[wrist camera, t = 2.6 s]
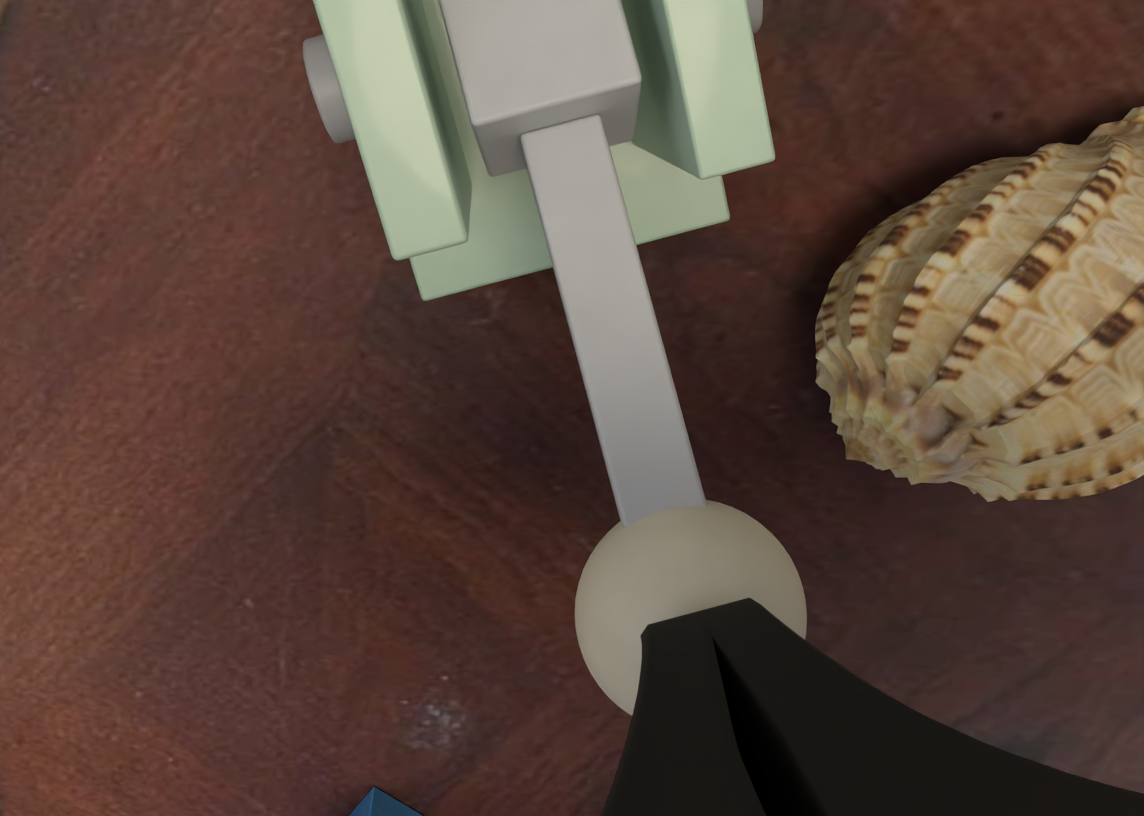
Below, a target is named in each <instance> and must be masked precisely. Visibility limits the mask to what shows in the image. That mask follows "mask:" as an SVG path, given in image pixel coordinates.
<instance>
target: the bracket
mask: <svg viewBox="0 0 1144 816" xmlns="http://www.w3.org/2000/svg"><path fill="white" fill-rule="evenodd" d="M313 2H314V6H315V9H316V12H317V15H318V18H319V22H320V25H321V28H322V31H323V35H320V36H316V37H312V38H308V39H306V40H305V41H304V42H303V58H304V63H305V68H306V72H307V76H308V80H309V84H310V87H311V91H312V94H313V97H314V100H315V103H316V106H317V108H318V111H319V114H320V116H321V119H322V121H323V124H324V126H325V128H326V130H327V132H328V134H329V135H330V137H331V138H332V140H333V141H334V142H335V143H343V142H347V141H351V140H355V139H356V142H357V145H358V148H359V151H360V154H361V158H362V161H363V164H364V167H365V171H366V174H367V177H368V180H369V184H370V187H371V190H372V193H373V197H374V200H375V203H376V206H377V210H378V213H379V216H380V219H381V222H382V226H383V229H384V232H385V235H386V239H387V242H388V245H389V248H390V252H391V255H392V257H393V258H394V259H395V260H403V259H407V258H409V259H410V262H411V266H412V269H413V272H414V275H415V279H416V282H417V285H418V289H419V292H420V295H421V298H422V299H423V301H428V300H432V299H436V298H439V297H443V296H447V295H451V294H454V293H458V292H462V291H466V290H469V289H473V288H477V287H481V286H485V285H488V284H492V283H496V282H500V281H503V280H507V279H511V278H515V277H518V276H522V275H526V274H530V273H533V272H537V271H541V270H545V269H549V268H552V267H553V265H552V262H551V258H550V254H549V250H548V247H547V243H546V239H545V235H544V231H543V228H542V224H541V220H540V216H539V213H538V209H537V205H536V201H535V198H534V194H533V190H532V186H531V183H530V179H529V175H528V171H527V168H526V169H522V170H518V171H515V172H511V173H507V174H503V175H499V176H496V177H492V176H490V175H489V174H488V172H487V169H486V166H485V163H484V160H483V157H482V154H481V151H480V148H479V145H478V143H477V140H476V137H475V134H474V131H473V128H472V125H471V122H470V118H469V114H468V110H467V107H466V103H465V99H464V95H463V91H462V88H461V84H460V80H459V76H458V72H457V69H456V65H455V61H454V57H453V54H452V50H451V46H450V42H449V38H448V35H447V31H446V27H445V23H444V19H443V16H442V12H441V8H440V4H439V0H313ZM621 2H622V5H623V9H624V13H625V16H626V20H627V24H628V27H629V31H630V35H631V38H632V42H633V45H634V49H635V53H636V56H637V60H638V64H639V67H640V71H641V75H642V81H641V89H640V96H639V104H638V111H637V119H636V126H635V134H634V138H633V139H632V140H631V141H628V142H624V143H620V144H616V145H612V146H609V147H610V150H611V154H612V158H613V161H614V165H615V169H616V173H617V176H618V180H619V184H620V187H621V191H622V195H623V198H624V202H625V206H626V209H627V213H628V217H629V220H630V224H631V228H632V231H633V235H634V239H635V242H636V245H639V244H643V243H646V242H650V241H654V240H658V239H662V238H665V237H669V236H673V235H677V234H680V233H684V232H688V231H692V230H695V229H699V228H703V227H707V226H711V225H714V224H718V223H722V222H726V221H728V220H729V219H730V213H729V208H728V203H727V198H726V193H725V188H724V183H723V178H722V175H724V174H728V173H732V172H735V171H739V170H743V169H747V168H751V167H754V166H758V165H762V164H766V163H769V162H772V161H774V160H775V151H774V146H773V141H772V135H771V130H770V124H769V119H768V113H767V108H766V103H765V97H764V92H763V86H762V81H761V75H760V70H759V65H758V59H757V54H756V48H755V43H754V38H753V34H754V33H756V32H757V31H758V30H759V29H760V27H761V24H762V17H763V0H621Z"/></svg>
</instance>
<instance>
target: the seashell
mask: <svg viewBox="0 0 1144 816" xmlns="http://www.w3.org/2000/svg"><path fill="white" fill-rule="evenodd" d="M815 341H816V359H818V361H817V365H816V369H817V376H816V383H817V384H818V385H819V387H820V388H822V389H824V390H825V391H827V392H828V394H829V395H830V397H831V404H830V409H829V413H832V422H833V423H834V424H836V425H837V426H838V430H837V434H839V435H842V437H843V441H844V443H845V445H846V448H845V453H846V459H847V460H858V461H864V462H866V463H867V464H870V465H872V466H873V467H874V468H875V469H880V470H887V469H891V471H892V473H893V474H894V476H895V477H904V478H908V480H909V482H910V484H911V485H913V484H917V483H945V482H949V481H952V482H955V483H958V484H961V485H964V486H967V487H968V488H969V489H970V490H971V492H972V493H973V494H975V493H977V492H979V493H980V494H981V495H982V496H983V497H984V498H985V499H986V500H987V501H988V502H990V501H994V500H998V499H1002V498H1006V499H1007V500H1008V501H1011V500H1016V499H1021V498H1024V499H1041V500H1050V499H1065V498H1073V497H1081V496H1087V495H1093V494H1097V493H1102V492H1105V491H1108V490H1110V489H1113V488H1115V487H1118V486H1121V485H1123V484H1126V483H1128V482H1131V481H1133V480H1135V479H1137V478H1139V477H1141V476H1142V475H1144V106H1142V107H1137V108H1133V109H1132V110H1131V111H1130V112H1129V113H1128V114H1127V115H1126V116H1125V117H1124V119H1123V120H1121V121H1116V122H1110V123H1106V124H1102V125H1099V126H1098V127H1097V128H1096V129H1095V130H1094V131H1093V132H1092V133H1091V134H1090V135H1089V137H1088V138H1087V139H1086V140H1085V141H1084V142H1082V143H1081V144H1080V145H1071V144H1063V143H1052V144H1047V145H1045V146H1043V147H1041V148H1039V149H1038V150H1037V151H1036V152H1035V153H1033V154H1032V155H1030V156H1027V157H1002V158H998V159H993V160H989V161H986V162H983V163H980V164H977V165H974V166H971V167H970V168H968V169H966V170H964V171H962V172H960V173H959V174H957V175H955V176H954V177H952V178H951V179H949V180H948V181H946V182H945V183H944V184H942V185H941V186H939V187H938V188H936V189H935V190H934V191H933V192H931V193H930V194H929V195H928V196H926V197H925V198H924V199H922V200H920V201H917V202H915V203H913V204H911V205H909V206H907V207H905V208H904V209H902V210H900V211H898V212H897V213H895V214H893V215H891V216H890V217H889V218H887V219H886V220H884V221H883V222H882V223H880V224H879V225H877V226H876V227H874V228H873V229H871V230H870V231H869V232H868V233H867V234H866V235H865V237H864V238H863V239H862V240H861V241H860V242H859V244H858V245H857V246H856V248H855V249H854V250H853V251H852V253H851V254H850V255H849V256H848V257H847V259H846V260H845V261H844V262H843V264H842V265H841V266H840V267H839V268H838V270H837V271H836V272H835V274H834V276H833V278H832V279H831V281H830V283H829V287H828V290H827V293H826V295H825V298H824V301H823V303H822V305H821V307H820V310H819V313H818V316H817V319H816V327H815Z"/></svg>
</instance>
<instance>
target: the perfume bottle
mask: <svg viewBox="0 0 1144 816" xmlns="http://www.w3.org/2000/svg"><path fill="white" fill-rule="evenodd" d="M349 816H422V815H421V814H419V813H417V812H416V811H414V810H412V809H411V808H409V807H407V806H406V805H404V804H402V803H401V802H399V801H397V800H396V799H394V798H392V797H391V796H389V795H387V794H386V793H384V792H382V791H380V790H379V789H377V788H375V787H373V788H372V789H371V791H370V792H369V793H368V794H367V795H366V796H365V798H364V799H363V800H362V801H361V802H360V803H359V804H358V806H357V807H356V808H355V809H354V810H353V811H352V813H351V814H350V815H349Z"/></svg>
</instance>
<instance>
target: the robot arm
mask: <svg viewBox="0 0 1144 816" xmlns="http://www.w3.org/2000/svg"><path fill="white" fill-rule="evenodd" d="M640 637H641V643H642V660H641V671H640V678H639V685H638V692H637V697H636V701H635V706H634V710H633V715H632V720H631V724H630V729H629V733H628V737H627V740H626V743H625V747H624V750H623V753H622V756H621V759H620V763H619V766H618V769H617V772H616V775H615V779H614V782H613V785H612V787H611V790H610V793H609V795H608V798H607V801H606V803H605V806H604V808H603V811H602V813H601V816H1144V794H1142V793H1138V792H1134V791H1130V790H1126V789H1122V788H1118V787H1114V786H1110V785H1106V784H1103V783H1100V782H1096V781H1093V780H1089V779H1086V778H1083V777H1079V776H1076V775H1072V774H1069V773H1066V772H1063V771H1060V770H1057V769H1054V768H1051V767H1049V766H1046V765H1043V764H1040V763H1037V762H1034V761H1031V760H1028V759H1026V758H1023V757H1020V756H1017V755H1014V754H1011V753H1009V752H1006V751H1004V750H1001V749H999V748H996V747H993V746H991V745H988V744H986V743H983V742H981V741H979V740H976V739H974V738H972V737H970V736H968V735H965V734H963V733H961V732H959V731H957V730H954V729H952V728H950V727H948V726H946V725H943V724H941V723H939V722H937V721H935V720H932V719H930V718H928V717H927V716H925V715H923V714H921V713H919V712H917V711H915V710H913V709H911V708H909V707H908V706H906V705H904V704H902V703H901V702H899V701H897V700H895V699H894V698H892V697H890V696H889V695H887V694H885V693H883V692H882V691H880V690H878V689H877V688H875V687H874V686H872V685H870V684H869V683H867V682H866V681H864V680H862V679H861V678H859V677H858V676H856V675H855V674H853V673H852V672H850V671H849V670H847V669H846V668H844V667H843V666H841V665H840V664H838V663H837V662H835V661H834V660H832V659H831V658H829V657H828V656H826V655H825V654H824V653H822V652H821V651H820V650H818V649H817V648H815V647H814V646H813V645H811V644H810V643H809V642H807V641H806V640H805V639H803V638H802V637H801V636H799V635H798V634H797V633H795V632H794V631H793V630H791V629H790V628H789V627H788V626H786V625H785V624H784V623H783V622H781V621H780V620H779V619H778V618H776V617H775V616H774V615H773V614H772V613H770V612H769V611H768V610H767V609H766V608H764V607H763V606H762V605H761V604H760V603H758V602H756V601H755V600H753V599H751V598H746V599H742V600H738V601H735V602H731V603H727V604H723V605H719V606H716V607H712V608H708V609H704V610H701V611H697V612H693V613H689V614H686V615H682V616H678V617H674V618H671V619H667V620H663V621H659V622H656V623H652V624H648V625H647V626H646V628H645V629H644V631H643V632H642V634H641V635H640Z"/></svg>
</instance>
